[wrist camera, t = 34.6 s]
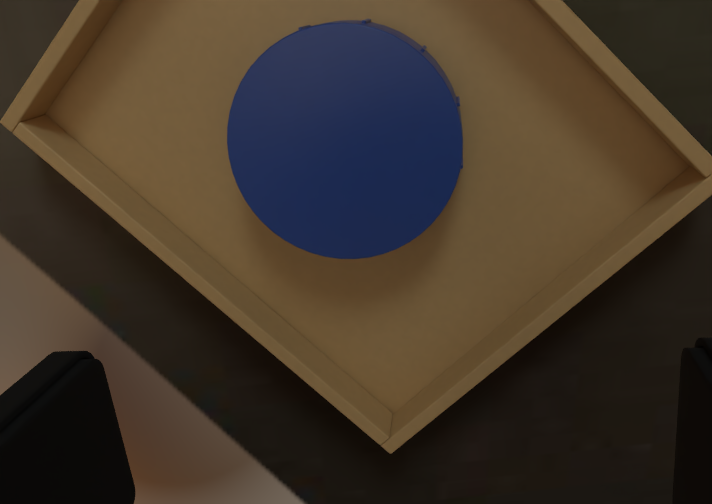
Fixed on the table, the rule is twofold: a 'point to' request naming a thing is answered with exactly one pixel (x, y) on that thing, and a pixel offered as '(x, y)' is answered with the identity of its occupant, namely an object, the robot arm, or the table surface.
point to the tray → (413, 260)
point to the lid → (346, 139)
